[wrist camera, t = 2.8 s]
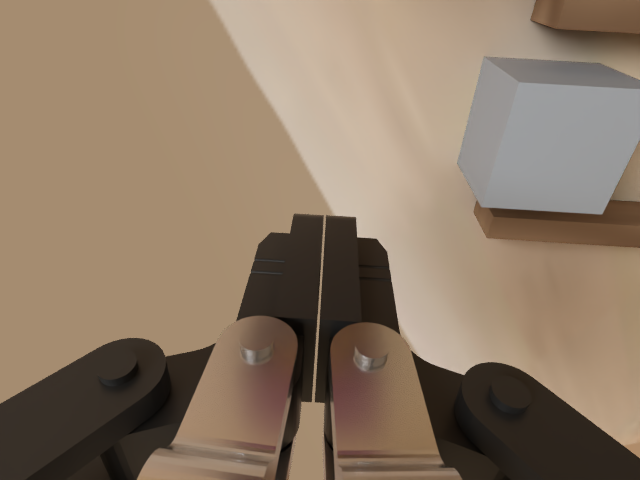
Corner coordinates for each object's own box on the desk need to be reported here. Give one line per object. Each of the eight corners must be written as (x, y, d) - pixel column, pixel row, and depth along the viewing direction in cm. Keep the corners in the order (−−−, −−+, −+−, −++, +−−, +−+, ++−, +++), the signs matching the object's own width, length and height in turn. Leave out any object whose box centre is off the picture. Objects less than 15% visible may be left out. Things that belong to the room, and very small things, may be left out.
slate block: (483, 56, 18) (519, 82, 14) (598, 62, 18) (664, 90, 14) (456, 162, 21) (481, 207, 17) (556, 168, 21) (602, 214, 17)
